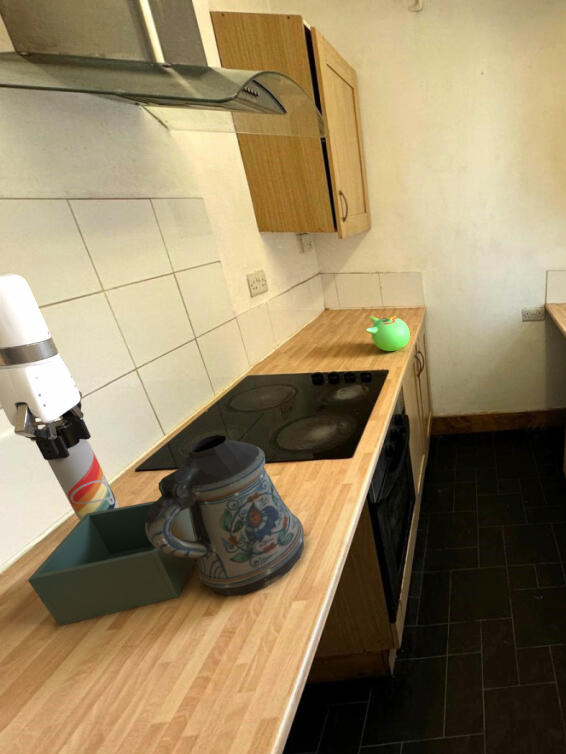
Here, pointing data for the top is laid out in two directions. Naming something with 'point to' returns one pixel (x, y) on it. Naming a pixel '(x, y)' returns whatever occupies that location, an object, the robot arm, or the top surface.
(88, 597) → the bin
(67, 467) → the lotion bottle
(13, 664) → the top surface
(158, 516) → the beer stein
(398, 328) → the green space hopper
